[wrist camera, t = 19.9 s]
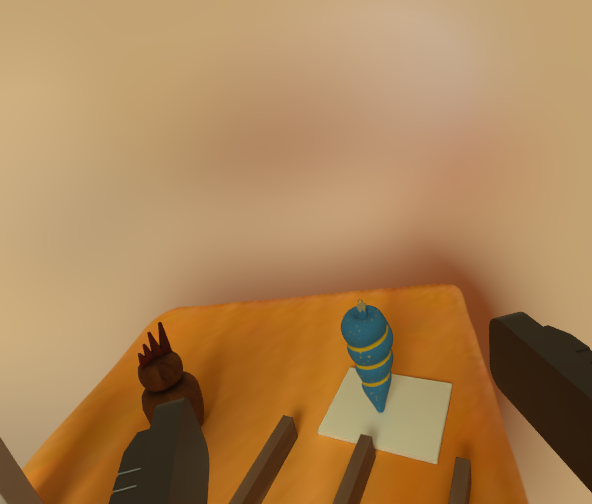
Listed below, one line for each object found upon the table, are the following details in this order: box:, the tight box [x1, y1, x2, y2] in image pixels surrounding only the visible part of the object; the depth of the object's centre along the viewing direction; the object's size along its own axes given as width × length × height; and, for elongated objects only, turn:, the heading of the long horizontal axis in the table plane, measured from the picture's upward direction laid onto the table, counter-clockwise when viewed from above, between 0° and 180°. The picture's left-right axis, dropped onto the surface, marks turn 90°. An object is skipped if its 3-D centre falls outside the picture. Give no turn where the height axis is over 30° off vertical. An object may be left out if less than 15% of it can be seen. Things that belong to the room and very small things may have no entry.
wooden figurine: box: [138, 322, 204, 426], centre depth 49 cm, size 7×6×15 cm
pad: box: [318, 367, 452, 465], centre depth 48 cm, size 13×11×1 cm
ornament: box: [341, 299, 393, 413], centre depth 45 cm, size 5×5×15 cm
